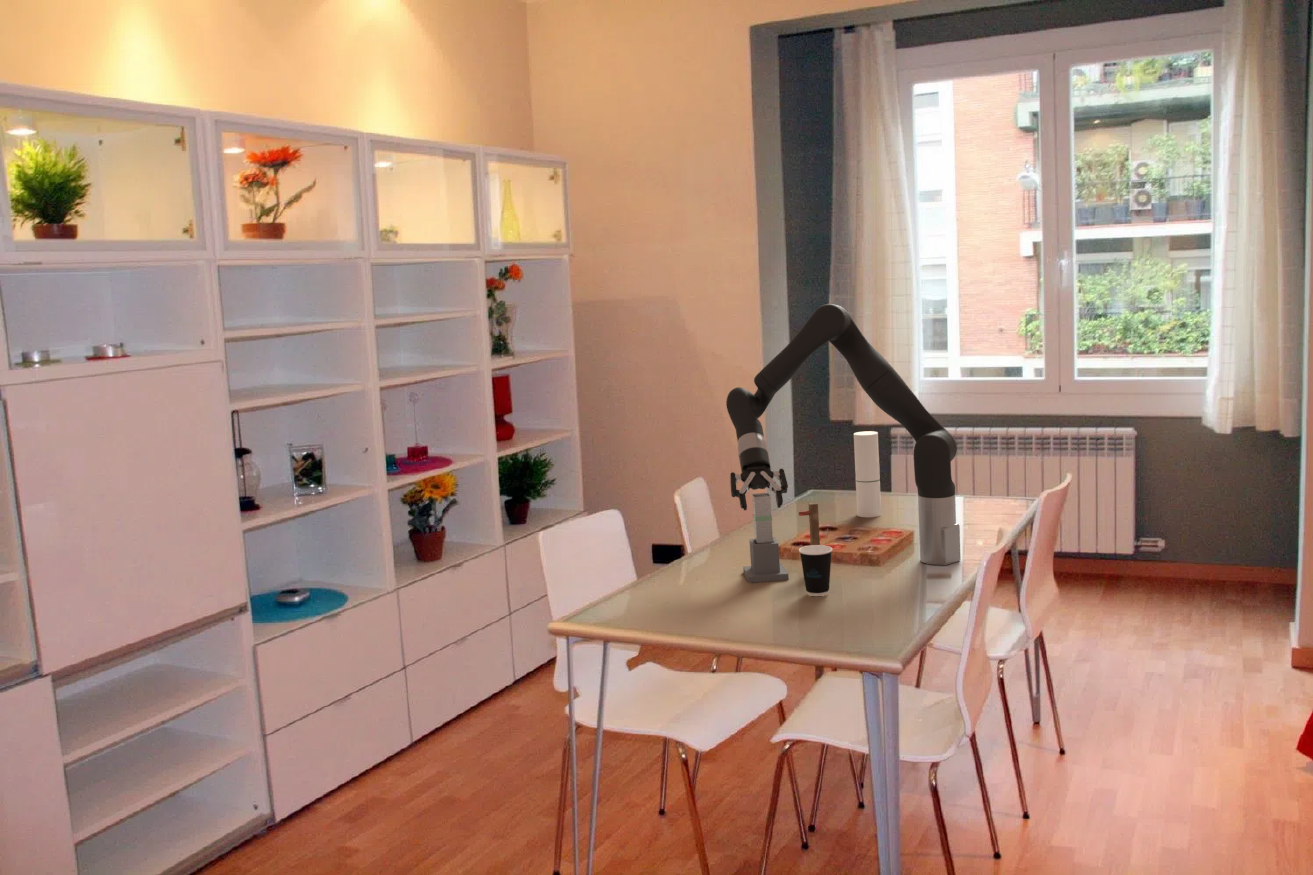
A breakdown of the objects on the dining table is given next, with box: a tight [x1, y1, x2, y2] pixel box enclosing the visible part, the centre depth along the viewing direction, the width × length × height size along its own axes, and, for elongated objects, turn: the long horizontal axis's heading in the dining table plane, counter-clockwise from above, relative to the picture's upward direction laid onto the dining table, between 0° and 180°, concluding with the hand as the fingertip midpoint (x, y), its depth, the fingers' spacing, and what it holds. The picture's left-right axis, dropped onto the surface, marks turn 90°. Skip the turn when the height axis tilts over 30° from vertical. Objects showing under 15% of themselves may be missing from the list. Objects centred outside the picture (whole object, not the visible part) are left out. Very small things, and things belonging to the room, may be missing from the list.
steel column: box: [751, 492, 773, 544], centre depth 288 cm, size 4×4×14 cm
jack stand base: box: [742, 537, 790, 584], centre depth 290 cm, size 10×10×9 cm
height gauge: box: [798, 502, 821, 545], centre depth 290 cm, size 6×4×18 cm
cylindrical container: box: [853, 430, 882, 518], centre depth 346 cm, size 7×7×25 cm
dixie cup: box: [798, 544, 833, 597], centre depth 271 cm, size 8×8×11 cm
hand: (762, 507), depth 287 cm, fingers open, 8 cm apart
